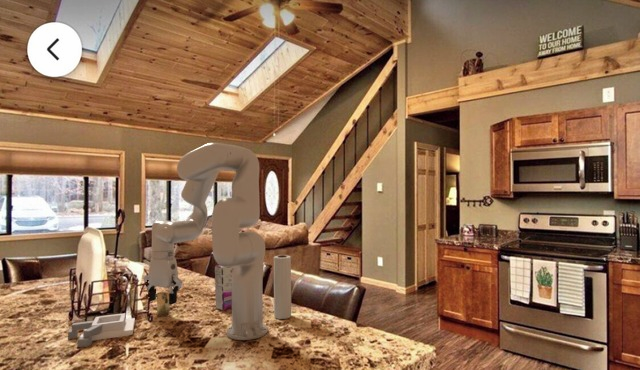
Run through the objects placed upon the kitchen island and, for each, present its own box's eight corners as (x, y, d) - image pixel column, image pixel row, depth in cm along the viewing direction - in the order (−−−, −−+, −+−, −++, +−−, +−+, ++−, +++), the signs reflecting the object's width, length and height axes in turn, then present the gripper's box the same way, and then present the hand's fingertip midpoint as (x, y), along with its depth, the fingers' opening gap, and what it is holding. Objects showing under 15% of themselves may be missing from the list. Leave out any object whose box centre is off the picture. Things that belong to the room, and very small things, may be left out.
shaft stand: (131, 340, 110) (131, 326, 110) (60, 351, 103) (60, 336, 103) (134, 322, 125) (134, 310, 125) (73, 330, 118) (73, 318, 118)
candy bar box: (237, 301, 148) (237, 260, 149) (245, 303, 145) (245, 262, 146) (214, 308, 139) (214, 265, 140) (222, 311, 136) (222, 267, 137)
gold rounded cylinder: (171, 316, 131) (171, 293, 131) (155, 318, 129) (155, 295, 129) (170, 311, 136) (170, 290, 136) (155, 313, 134) (155, 291, 134)
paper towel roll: (288, 320, 126) (288, 257, 126) (271, 319, 127) (271, 257, 128) (294, 313, 133) (293, 254, 133) (278, 312, 134) (277, 253, 135)
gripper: (189, 254, 133) (188, 301, 133) (152, 251, 140) (152, 296, 140) (174, 258, 126) (173, 308, 126) (136, 254, 133) (135, 302, 133)
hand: (162, 302), depth 133 cm, fingers open, 9 cm apart
